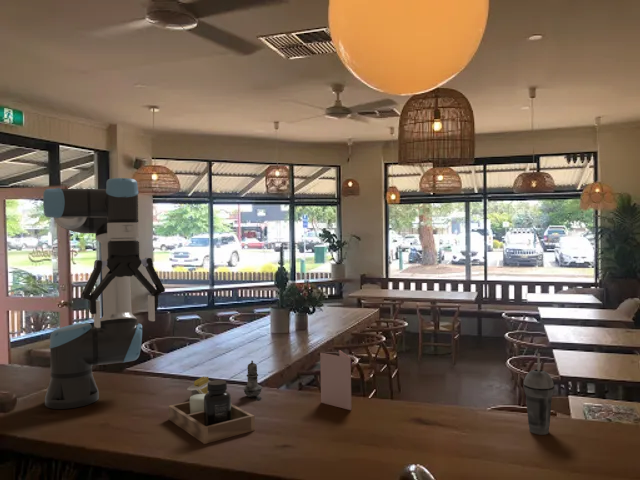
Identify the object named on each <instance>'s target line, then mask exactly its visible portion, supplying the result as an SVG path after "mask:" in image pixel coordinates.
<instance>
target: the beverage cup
mask: <svg viewBox="0 0 640 480" xmlns="http://www.w3.org/2000/svg"><path fill="white" fill-rule="evenodd" d="M540 356H541V353H539V352H537V369H532V370H530V371H529V372H527V374H526V375H525V377H524V380H523V390H524V393H525V394H524V395H525V399H526V400H525V403H526V412H527V421H528V422H527V423H528V424H527V425H528V428H529V432H530V433H532V434H535V435H540V436H543V435H548V434H549V432H550V424H551V413H552V412H551V411H552V402H553V400H552V399H553V395H554V389H555V385H554V381H553V378H552V376H551V375H550V374H549V372H547V371H546V370H543V369H541V357H540Z"/></svg>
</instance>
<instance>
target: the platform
mask: <svg viewBox="0 0 640 480" xmlns="http://www.w3.org/2000/svg"><path fill="white" fill-rule="evenodd" d="M210 381H211V380H209V376H202V377H200V378H198V379H196V380H194V381H193V384H192V385H190V386H188V387H187V388H186V389H187V390H186V391H191V396H193V395H196V394H206V393H208V390H207V388H208V382H210Z"/></svg>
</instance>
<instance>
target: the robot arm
mask: <svg viewBox="0 0 640 480" xmlns="http://www.w3.org/2000/svg"><path fill="white" fill-rule="evenodd" d="M138 185H139V184H138V181H137V180H136V179H135V178H130V177H129V178H127V177H113V178H109V179H107V180H106V185H105V186H106V187H105V188H87V189H86V188H60V187H56V188H46V189H44V191H43V194H42V195H43V197H42V198H43V199H42V202H43V203H42V204H43V214H44V216H45V217H46V218H53V219H54V220H55V223H56V224H57V225H58V226H59V227H60V228H63V230H64V229H65V230H67V231H70V232H75V233H78V234H95V240H97V241H98V242H99V243H100V249H101V250H100V252H101V253H100V254H101V259H95V260H94V261H93V262H94V263H93V270H92V272H91V274H90V276H89V278H88V280H87V282H86V284H85V286H84V287H83V288H84V289H83V290H82V292H81V294H80V297H81V298H82V299H85V300H88V302H89V303H88V305H89V313H90V314H91V315H93V326H92V324H91V323H89V322H85V323H84V322H83V323H81V322H80V323H75V324H69V325H66V326H62V327H59V328H57V329H55V330H53V331H52V332H51V334H50V337H49V349H50V351H49V352H50V356H49V357H50V381H49V384H48V387H47V390H46V394H45V396H44V406H45V407H46V408H49V409H54V410H64V409H75V408H81V407H85V406H88V405H91V404H93V403H95V402H97V401H99V398H100V391H99V388H98V385H97V384H96V380H95V378H94V374H93V366H99V365H108V364H109V365H111V364H120V363H124V364H125V363H129V362H133V361H134V362H135V361H136V360H137V359H139V357H140V356H141V355H140V354H141V350H142V349H141V348H142V343H143V342H142V341H143V340H142V339H143V325H142V324H141V323H139V322H138V319H137V317H136V316H135V315H134V314H133V311H132V292H131V291H132V289H131V288H132V284H131V277H132V276H133V277H135V278H136V279H137V280H138V281H139V283H141V285H142V286H143V287H144V288H145V289H146V290H147V291H148V292H149V295H147V310H148V311H147V313H148V314H147V316H148V317H147V319H148V321H149V322H155V321H156V314H155V313H156V311H155V310H156V308H158V306H159V295H160V294H162V293H165V292H166V289H165V287H164V285H163V283H162V281H161V279H160V277H159V275H158V273H157V271H156V270H155V267H154V265H153V259H152V257H145V258H141V257H140V242H139V240H137V239H138V238H139V237H140V233H139V232H140V227H139V226H140V225H139V193H140V191H139V187H138ZM141 265H142V266H143V267H145V270H146V271H147V274H148V275H149V277H150V279H151V281H152V283H153V284H151V282H150V281H149V280H148V279H147V278H146V277H145V276H144V274H143V273H142V272H141V271H140V270H139V268H140V267H141ZM100 275H101V278H102V279H101V281H100V282H99V284H98V285H97V286H96V288H94V287H95V285H96V283H97V281H98V279H99V277H100ZM153 285H154V286H153ZM93 289H94V290H93ZM101 295H102V308H103V309H102V310H103V312H102V313H103V316H102V317H101V301H100V299H99V297H100V296H101ZM98 299H99V300H98Z"/></svg>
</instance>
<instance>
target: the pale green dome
mask: <svg viewBox="0 0 640 480" xmlns="http://www.w3.org/2000/svg"><path fill="white" fill-rule="evenodd" d="M204 396H205V394H196V395H193V396H192V395H191V396H190V397H189V401H190V414H192V413H196V412H201V411H204Z"/></svg>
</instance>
